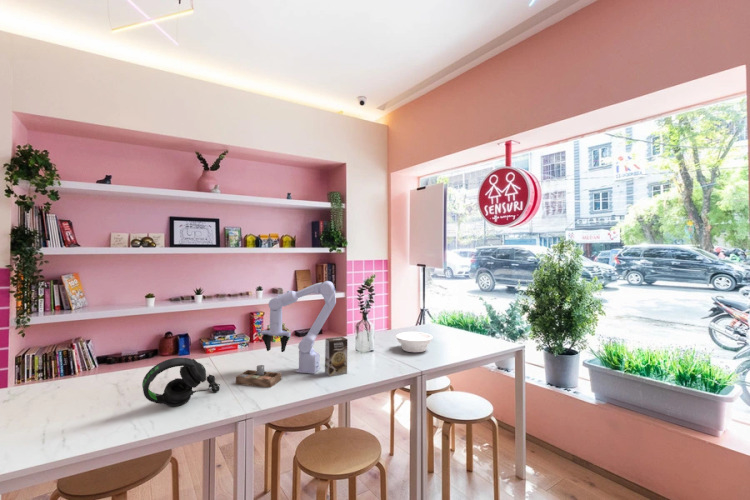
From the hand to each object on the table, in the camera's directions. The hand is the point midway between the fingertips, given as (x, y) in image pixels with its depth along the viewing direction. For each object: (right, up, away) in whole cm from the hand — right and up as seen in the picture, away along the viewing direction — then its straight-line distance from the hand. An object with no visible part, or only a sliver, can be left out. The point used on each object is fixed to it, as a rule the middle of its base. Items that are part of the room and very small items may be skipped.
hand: (275, 350), depth 165 cm
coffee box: (+29, -10, -3) cm, 31 cm away
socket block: (-3, -9, -14) cm, 17 cm away
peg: (-3, -9, -13) cm, 16 cm away
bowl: (+70, -10, +36) cm, 79 cm away
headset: (-25, -9, -34) cm, 43 cm away
